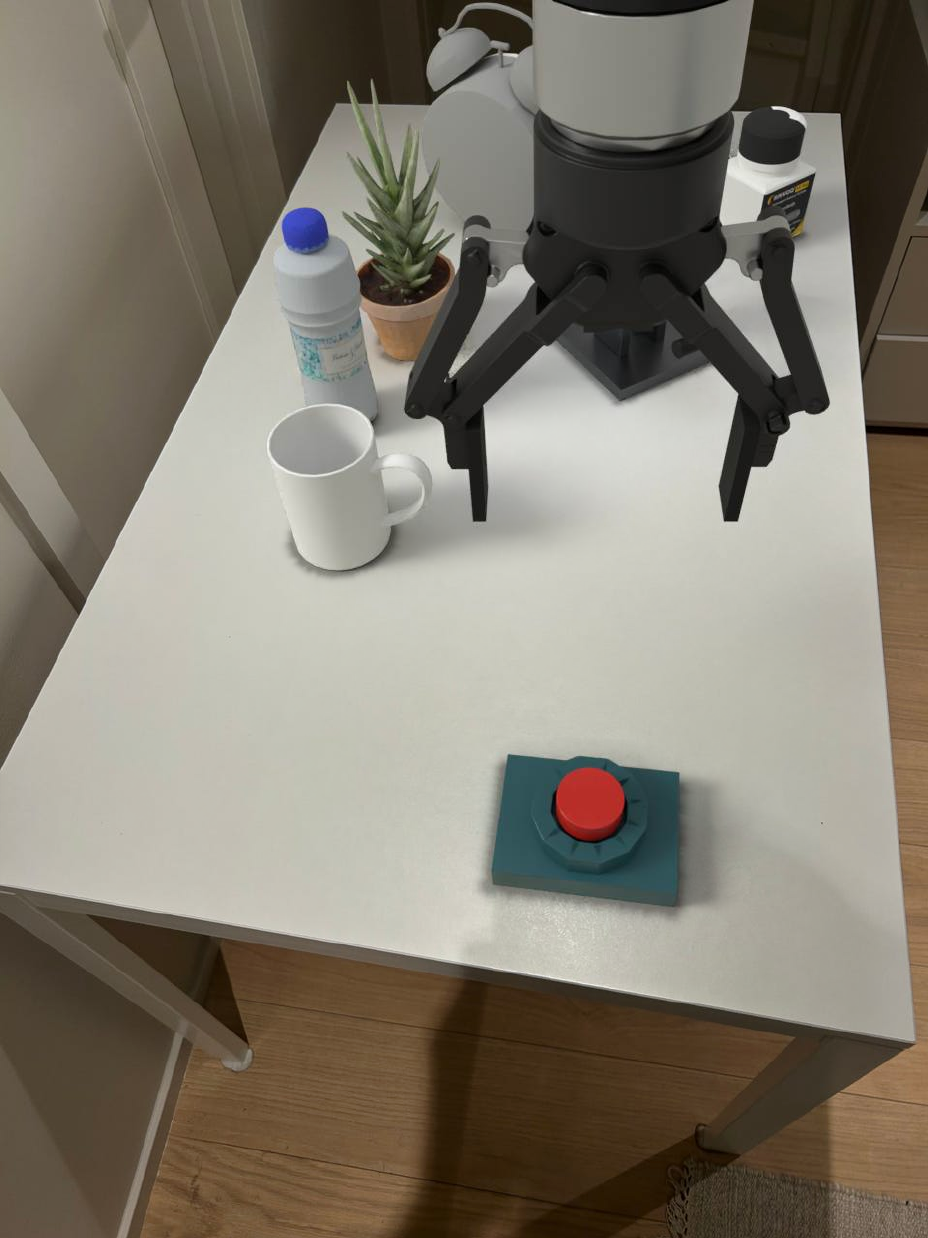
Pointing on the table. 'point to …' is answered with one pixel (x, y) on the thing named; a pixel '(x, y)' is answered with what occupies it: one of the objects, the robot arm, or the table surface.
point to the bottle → (323, 313)
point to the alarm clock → (482, 125)
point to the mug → (337, 485)
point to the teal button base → (605, 868)
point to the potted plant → (399, 245)
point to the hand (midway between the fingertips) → (602, 504)
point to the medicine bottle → (768, 169)
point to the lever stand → (629, 357)
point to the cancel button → (589, 804)
